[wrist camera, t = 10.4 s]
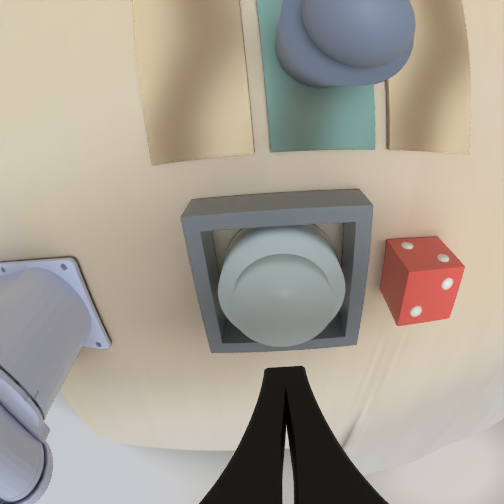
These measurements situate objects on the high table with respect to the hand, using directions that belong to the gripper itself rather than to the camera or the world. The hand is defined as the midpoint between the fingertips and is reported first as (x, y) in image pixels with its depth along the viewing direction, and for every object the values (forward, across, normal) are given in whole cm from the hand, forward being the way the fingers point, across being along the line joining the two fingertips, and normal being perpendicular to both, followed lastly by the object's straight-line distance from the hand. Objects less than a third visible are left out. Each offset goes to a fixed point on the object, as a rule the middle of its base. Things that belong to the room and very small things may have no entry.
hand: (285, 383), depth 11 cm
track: (+8, -3, -12) cm, 14 cm away
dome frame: (+8, 0, 0) cm, 8 cm away
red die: (+8, -8, 0) cm, 12 cm away
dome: (+9, 0, 0) cm, 9 cm away
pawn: (+8, -3, -12) cm, 14 cm away
